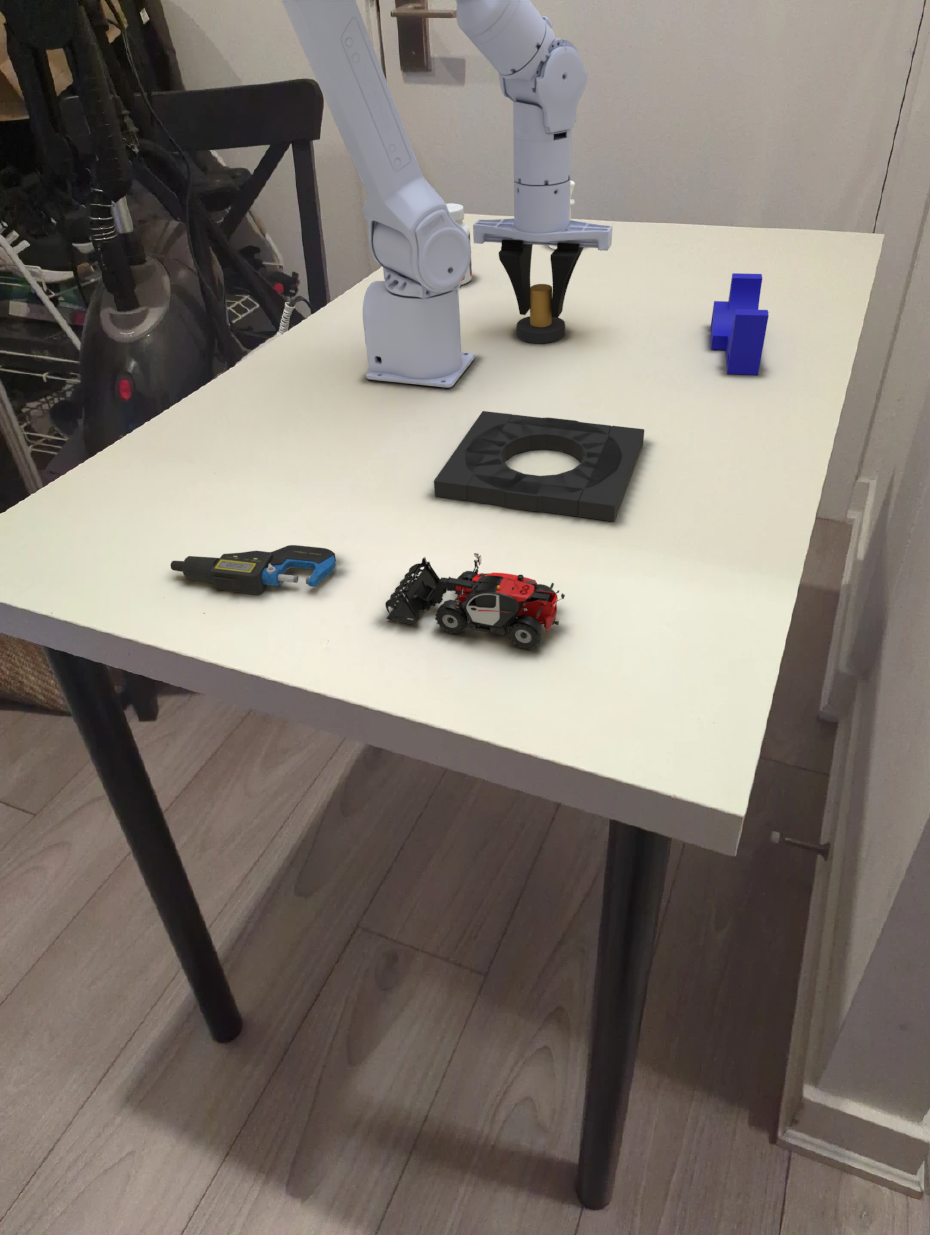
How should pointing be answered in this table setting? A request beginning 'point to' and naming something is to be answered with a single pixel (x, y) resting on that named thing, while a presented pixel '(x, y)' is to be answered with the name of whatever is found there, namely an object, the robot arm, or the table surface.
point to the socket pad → (570, 493)
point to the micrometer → (258, 568)
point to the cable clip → (740, 325)
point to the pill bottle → (458, 216)
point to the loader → (478, 602)
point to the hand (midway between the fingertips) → (540, 312)
